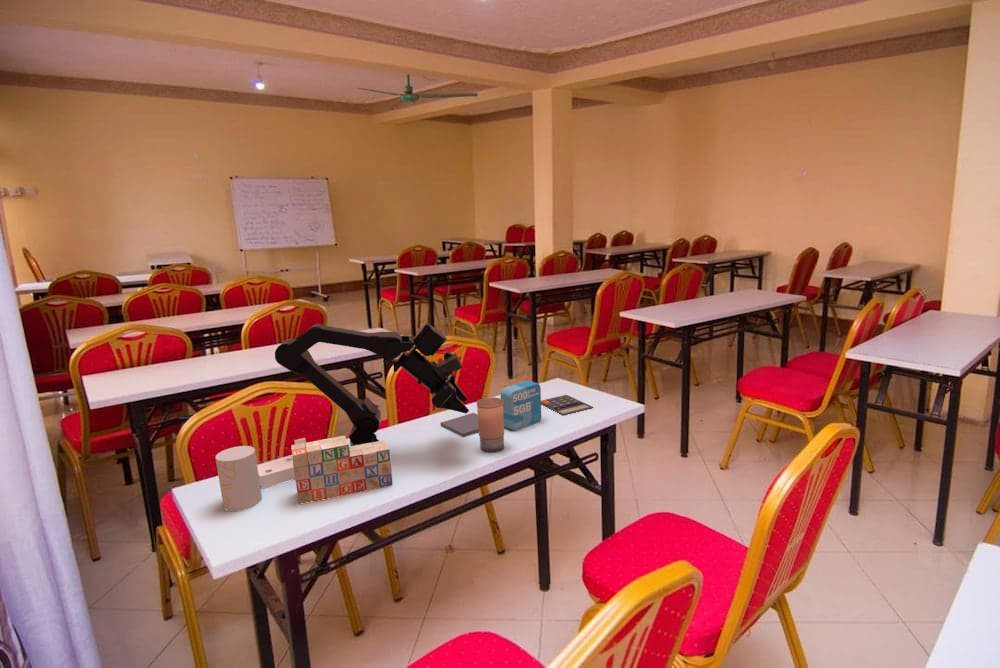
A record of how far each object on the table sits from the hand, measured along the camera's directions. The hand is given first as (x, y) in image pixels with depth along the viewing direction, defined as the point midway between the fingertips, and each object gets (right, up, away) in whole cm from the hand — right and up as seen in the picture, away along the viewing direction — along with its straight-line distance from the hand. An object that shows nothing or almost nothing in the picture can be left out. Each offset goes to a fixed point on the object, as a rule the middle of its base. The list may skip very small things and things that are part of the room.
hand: (467, 406), depth 155 cm
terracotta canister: (+6, -8, +2) cm, 10 cm away
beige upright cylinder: (-50, -20, -20) cm, 57 cm away
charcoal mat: (-1, -8, +20) cm, 21 cm away
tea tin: (+7, -12, +3) cm, 14 cm away
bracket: (-45, -17, -8) cm, 48 cm away
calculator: (+29, -4, +34) cm, 45 cm away
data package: (+15, -8, +19) cm, 26 cm away
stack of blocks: (-28, -18, -16) cm, 37 cm away
